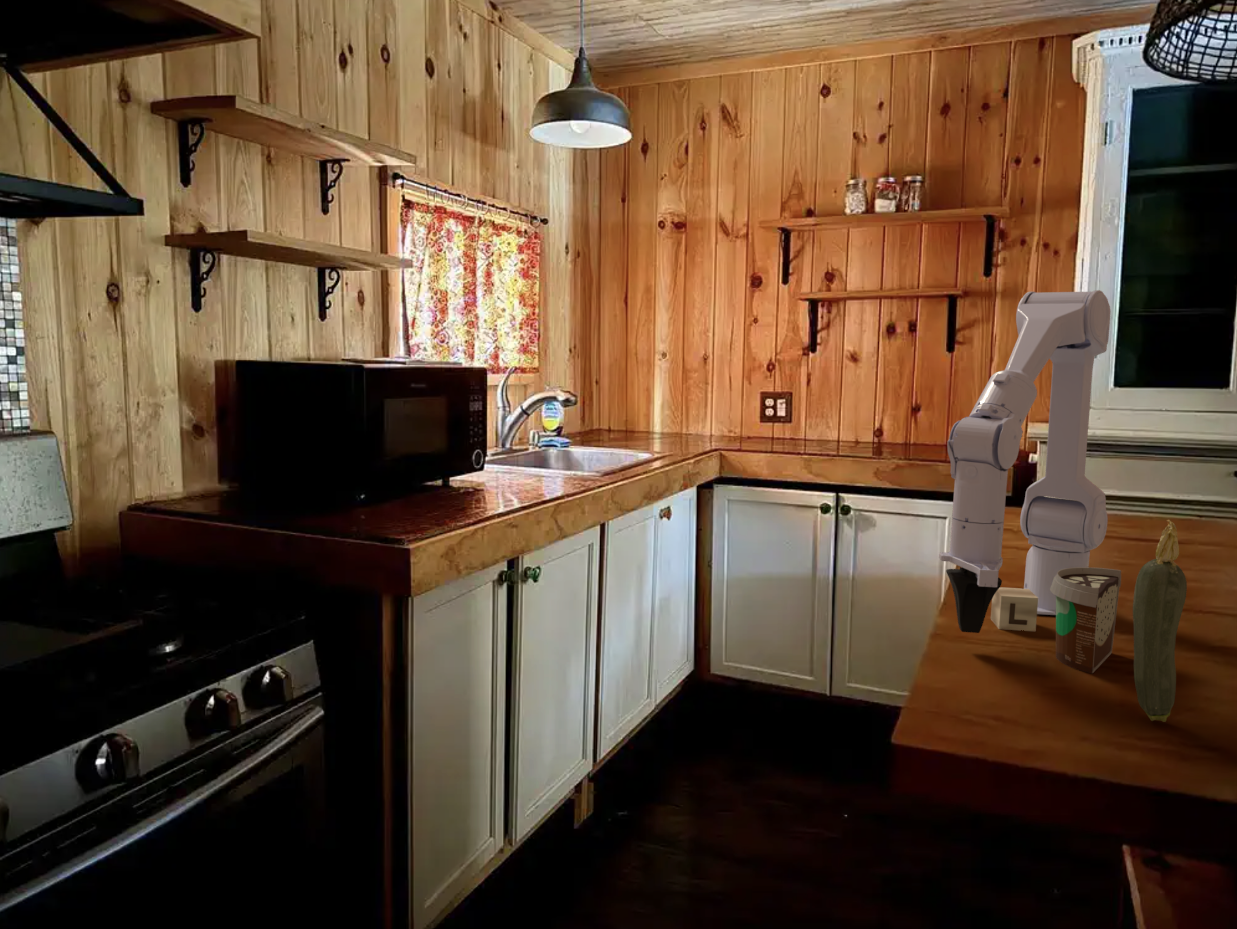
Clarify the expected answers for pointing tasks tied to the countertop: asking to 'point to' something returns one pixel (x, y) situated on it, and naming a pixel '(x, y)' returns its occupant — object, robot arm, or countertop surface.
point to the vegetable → (1158, 626)
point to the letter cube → (1014, 609)
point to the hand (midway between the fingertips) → (969, 630)
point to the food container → (1085, 615)
